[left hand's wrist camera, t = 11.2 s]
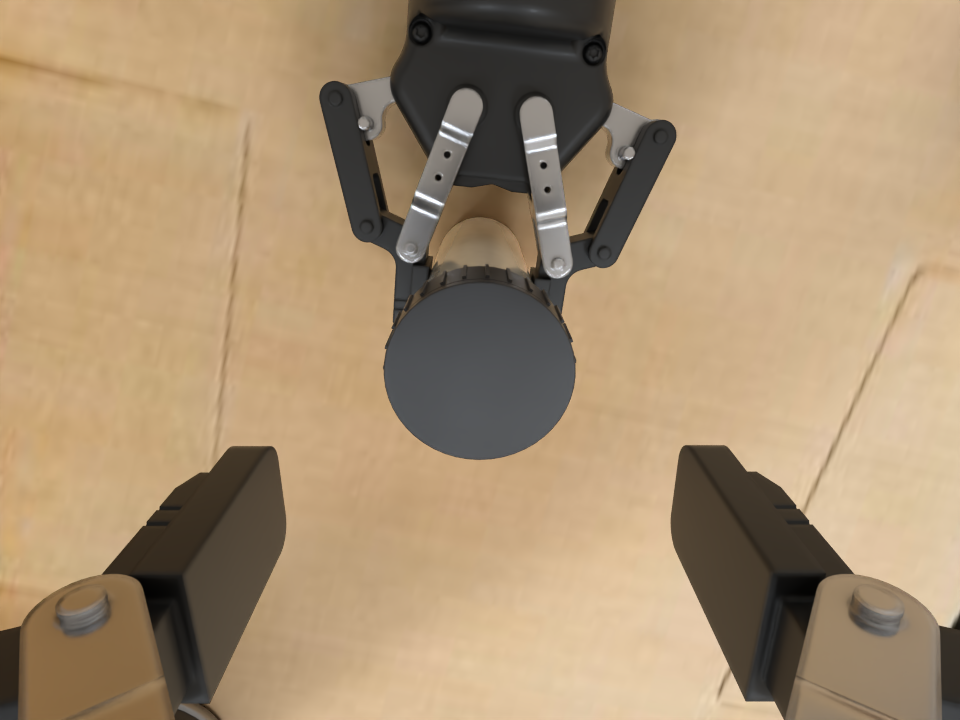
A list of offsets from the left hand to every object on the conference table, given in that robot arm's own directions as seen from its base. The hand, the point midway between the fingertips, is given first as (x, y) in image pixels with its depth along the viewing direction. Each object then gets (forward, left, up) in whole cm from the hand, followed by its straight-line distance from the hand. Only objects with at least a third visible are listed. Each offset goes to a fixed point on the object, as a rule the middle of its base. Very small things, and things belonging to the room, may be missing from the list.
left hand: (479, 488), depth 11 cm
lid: (0, 0, -6) cm, 6 cm away
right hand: (-1, -3, -16) cm, 16 cm away
